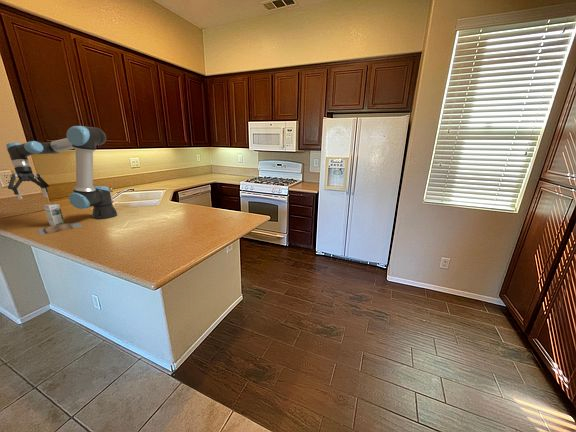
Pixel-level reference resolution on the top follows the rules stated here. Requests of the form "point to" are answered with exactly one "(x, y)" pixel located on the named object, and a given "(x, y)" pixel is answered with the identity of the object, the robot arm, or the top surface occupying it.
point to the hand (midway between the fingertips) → (34, 198)
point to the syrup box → (54, 214)
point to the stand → (58, 228)
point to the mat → (74, 225)
